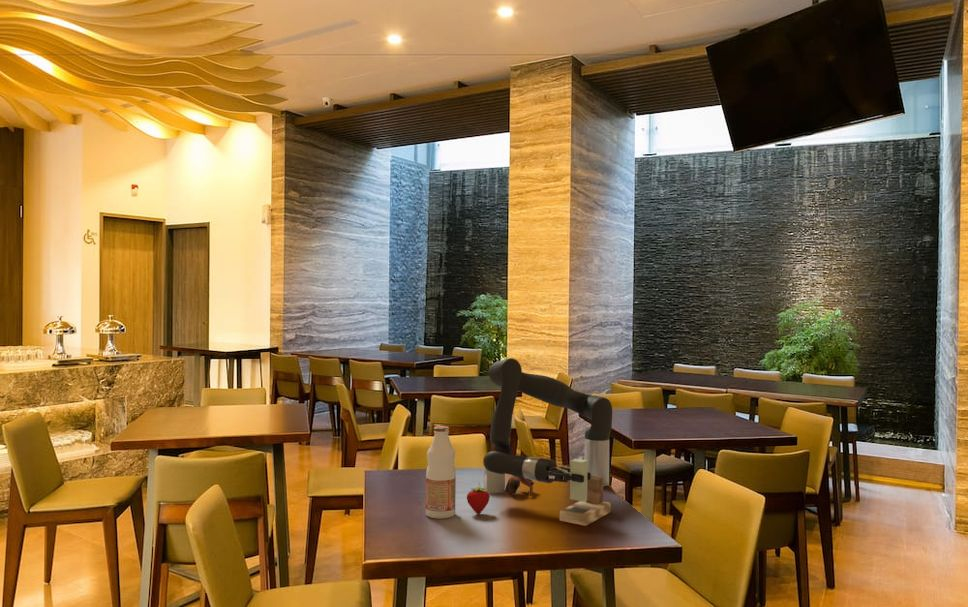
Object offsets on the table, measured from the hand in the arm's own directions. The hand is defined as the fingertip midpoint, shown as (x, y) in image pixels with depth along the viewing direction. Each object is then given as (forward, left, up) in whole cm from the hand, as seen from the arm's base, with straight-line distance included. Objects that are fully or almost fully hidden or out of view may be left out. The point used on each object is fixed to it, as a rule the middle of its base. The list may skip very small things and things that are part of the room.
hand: (586, 477), depth 214 cm
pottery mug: (-15, -34, -14) cm, 40 cm away
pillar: (0, -3, -7) cm, 8 cm away
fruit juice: (+22, -41, -14) cm, 48 cm away
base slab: (-5, -3, -13) cm, 15 cm away
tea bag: (-12, -43, -14) cm, 47 cm away
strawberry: (+14, -32, -14) cm, 37 cm away
